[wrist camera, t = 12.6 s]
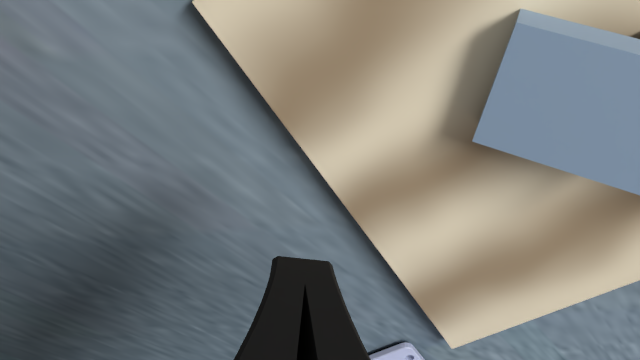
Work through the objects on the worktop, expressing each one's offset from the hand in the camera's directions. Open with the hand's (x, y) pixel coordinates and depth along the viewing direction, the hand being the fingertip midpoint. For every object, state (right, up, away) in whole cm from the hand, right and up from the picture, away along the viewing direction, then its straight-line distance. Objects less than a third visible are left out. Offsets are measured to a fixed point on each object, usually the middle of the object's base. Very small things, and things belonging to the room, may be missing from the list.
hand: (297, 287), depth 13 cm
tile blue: (+7, +6, +6) cm, 11 cm away
